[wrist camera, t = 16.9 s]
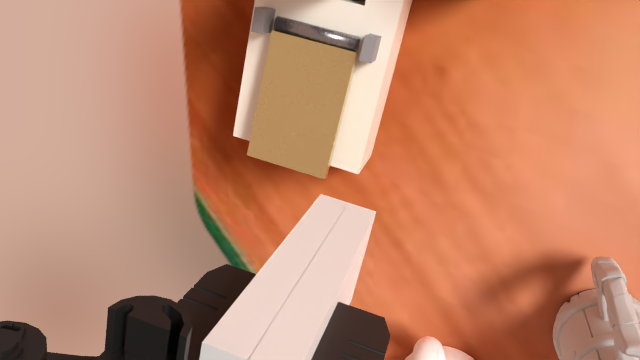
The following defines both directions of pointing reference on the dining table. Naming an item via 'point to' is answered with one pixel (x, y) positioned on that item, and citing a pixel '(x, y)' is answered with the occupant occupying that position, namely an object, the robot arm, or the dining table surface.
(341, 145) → the socket block
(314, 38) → the brass flap
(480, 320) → the dining table surface
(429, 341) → the mug
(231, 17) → the dining table surface
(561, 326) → the mug
